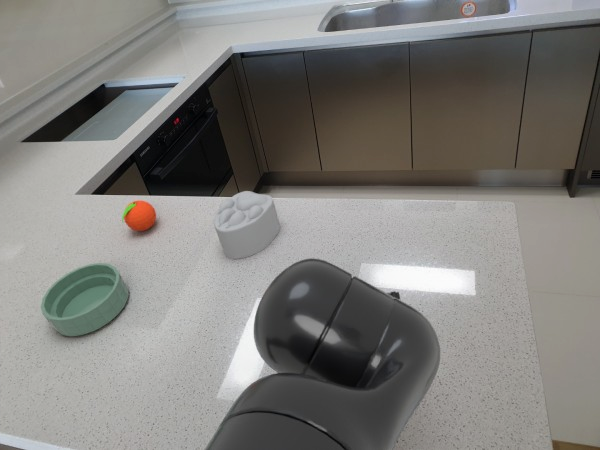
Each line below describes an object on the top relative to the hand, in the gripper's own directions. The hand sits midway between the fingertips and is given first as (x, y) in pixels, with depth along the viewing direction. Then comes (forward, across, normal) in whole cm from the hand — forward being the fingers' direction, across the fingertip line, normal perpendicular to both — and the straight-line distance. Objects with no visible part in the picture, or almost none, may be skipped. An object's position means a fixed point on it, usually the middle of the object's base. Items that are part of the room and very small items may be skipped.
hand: (338, 310), depth 59 cm
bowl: (+25, -46, +8) cm, 53 cm away
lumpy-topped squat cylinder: (+34, -15, +16) cm, 40 cm away
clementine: (+41, -40, +24) cm, 62 cm away
